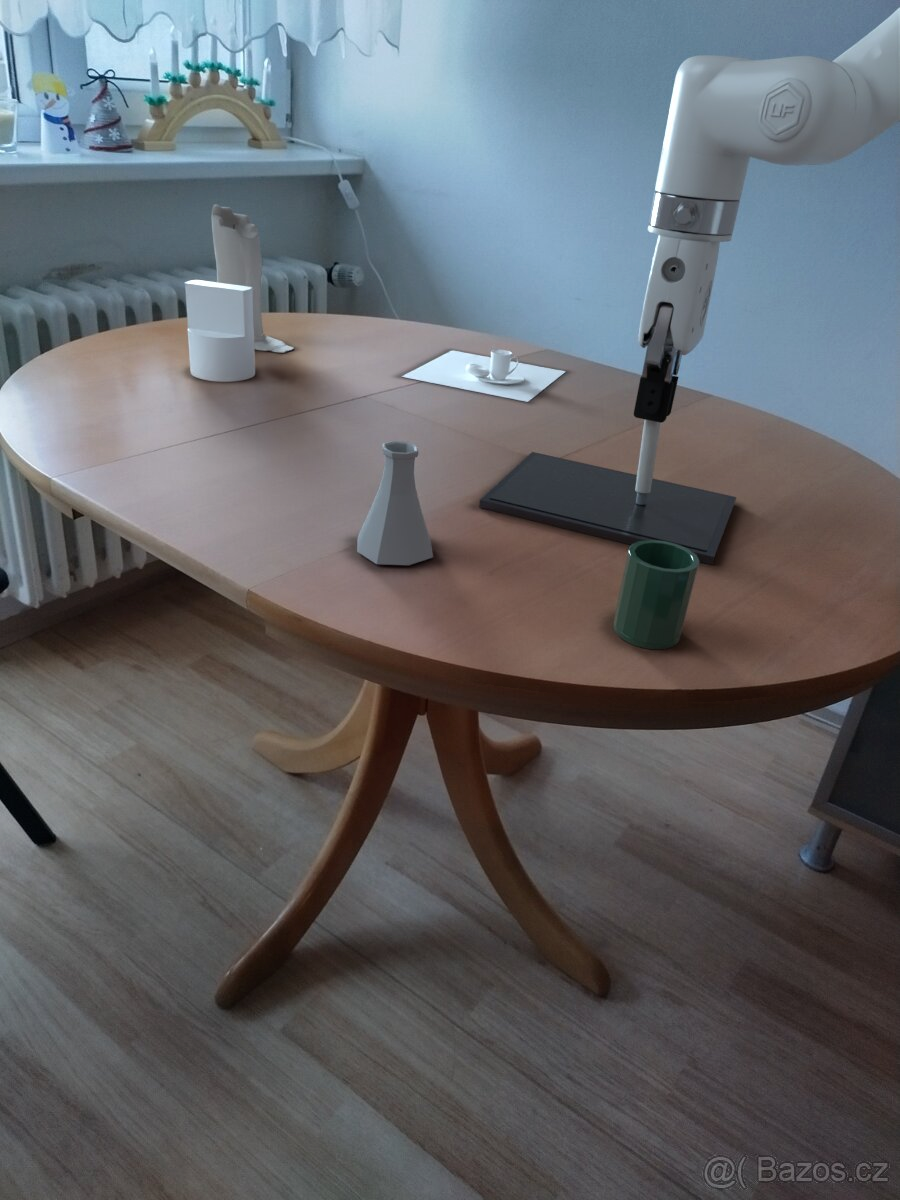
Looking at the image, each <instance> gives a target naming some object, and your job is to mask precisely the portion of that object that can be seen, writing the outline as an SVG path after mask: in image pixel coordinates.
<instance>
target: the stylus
mask: <svg viewBox="0 0 900 1200" xmlns="http://www.w3.org/2000/svg"><path fill="white" fill-rule="evenodd" d="M643 420H644V421H643V428H642V434H641V435H642V436H641V442H640V450H639V457H638V466H637V472H636V475H637V480H636V487H635V491H636V492H637V498H636V503H637V504H639V505H645V504H646V503H647V496H648V493H650V491H651V485H652V478H653V477H654V470H655V463H656V456H657V449H658V441H659V435H660V428H661V423H660V422H655V421H650V420H645V419H643ZM653 479H654V478H653Z"/></svg>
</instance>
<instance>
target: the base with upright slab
mask: <svg viewBox="0 0 900 1200" xmlns="http://www.w3.org/2000/svg"><path fill="white" fill-rule="evenodd" d="M184 288H185V289H184V290H185V305H186V318H187V341H188V354H189V356H188V357H189V368H190V369H189V371H190V374H191V376H193V377H194V378H197V379H201V380H204V381H210V382H221V383H223V382H224V383H225V382H227V383H229V382H241V381H245V380H249V379H251V378H254V376H255V375H256V355H255V349H254V325H253V295H252V287H248V286H240V285H232V284H225V283H217V281H216V282H215V281H208V280H201V279H191V280H188V281H185V282H184Z"/></svg>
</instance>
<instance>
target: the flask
mask: <svg viewBox="0 0 900 1200" xmlns="http://www.w3.org/2000/svg"><path fill="white" fill-rule="evenodd" d="M382 454H383V456H385V457H384V466H383V467H384V468H383V471H382V476H381V481H380V484H379V487H378V489H377V492H376V494H375V497H374V499H373V501H372V504H371V506H370V509H369V511H368V513H367V516H366V518H365V520H364V522H363V524H362V527H361V528H360V531H359V533H358V535H357V538H356V539H357V543H356V545H357V547H356V552H357V553H358V554H360V555H361V556H363V557H364V558H366V559H368V560H369V561H371V562H372V563H374V564H376V565H385V566H386V565H387V566H388V565H391V566H411V565H415V564H417V563H420V562H424V561H427V560H429V559H432V558H434V554H433V553H434V552H433V548H432V541H431V538H430V533H429V530H428V526H427V525H426V524H427V523H426V520H425V518H424V515H423V511H422V507H421V503H420V499H419V495H418V491H417V489H416V481H415V479H416V478H415V460H416V458H418V456H419V447H418V445H416V444H414V443H412V442H410V441H404V440H402V441H401V440H392V441H387V442H383V443H382Z"/></svg>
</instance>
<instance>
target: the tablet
mask: <svg viewBox="0 0 900 1200" xmlns="http://www.w3.org/2000/svg"><path fill="white" fill-rule="evenodd" d="M636 480H637V474H634V473H630V472H625V471H621V470H616V469H612V468H607V467H603V466H598V465H594V464H589V463H585V462H580V461H576V460H573V459H566V458H563V457H559V456H553V455H549V454H545V453H541V452H536V451H531V452H530V453H529V454H528V455H527V456H525V458H523V459H522V460H521V461H520V462H519V463H518V464H517V465H516V466H515V467H514V468H513V469H511V470H510V471H509V472H508V473H507V474H506V475H505V476H504V477H503V478H502V479H500V480H499V481H498V482H497V483H496V484H495V485H494V486H493V487H491V489H490V490H489V491H487V492H486V493H485V494H484V495H483V496H481V498H480V499H479V504H478V507H479V508H481V509H485V510H488V511H493V512H496V513H502V514H505V515H509V516H514V517H517V518H520V519H525V520H529V521H533V522H537V523H541V524H546V525H549V526H552V527H557V528H561V529H565V530H568V531H573V532H578V533H582V534H586V535H589V536H594V537H598V538H601V539H605V540H610V541H613V542H616V543H617V542H618V543H622V544H626V545H630V546H631V545H632V544H634V543H636V542H638V541H645V540H659V541H666V542H670V543H674V544H678V545H680V546H682V547H685V548H687V549H689V550H690V551H692V552H693V553H694V554H696V555H697V557H698V559H699V561H700V563H703V564H707V565H711V566H712V565H713V563H714V560H715V558H716V554H717V553H718V549H719V547H720V544H721V541H722V539H723V537H724V534H725V531H726V528H727V526H728V523H729V520H730V518H731V515H732V512H733V510H734V507H735V505H736V501H737V497H736V496H733V495H728V494H724V493H719V492H716V491H711V490H706V489H703V488H702V489H701V488H697V487H694V486H693V487H692V486H688V485H684V484H681V483H680V484H679V483H674V482H670V481H666V480H662V479H657V478H652V485H651V491H650V493H648V496H647V503H646V504H645V505H639V504H637V503H636V498H637V492H636V491H635V487H636Z"/></svg>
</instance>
